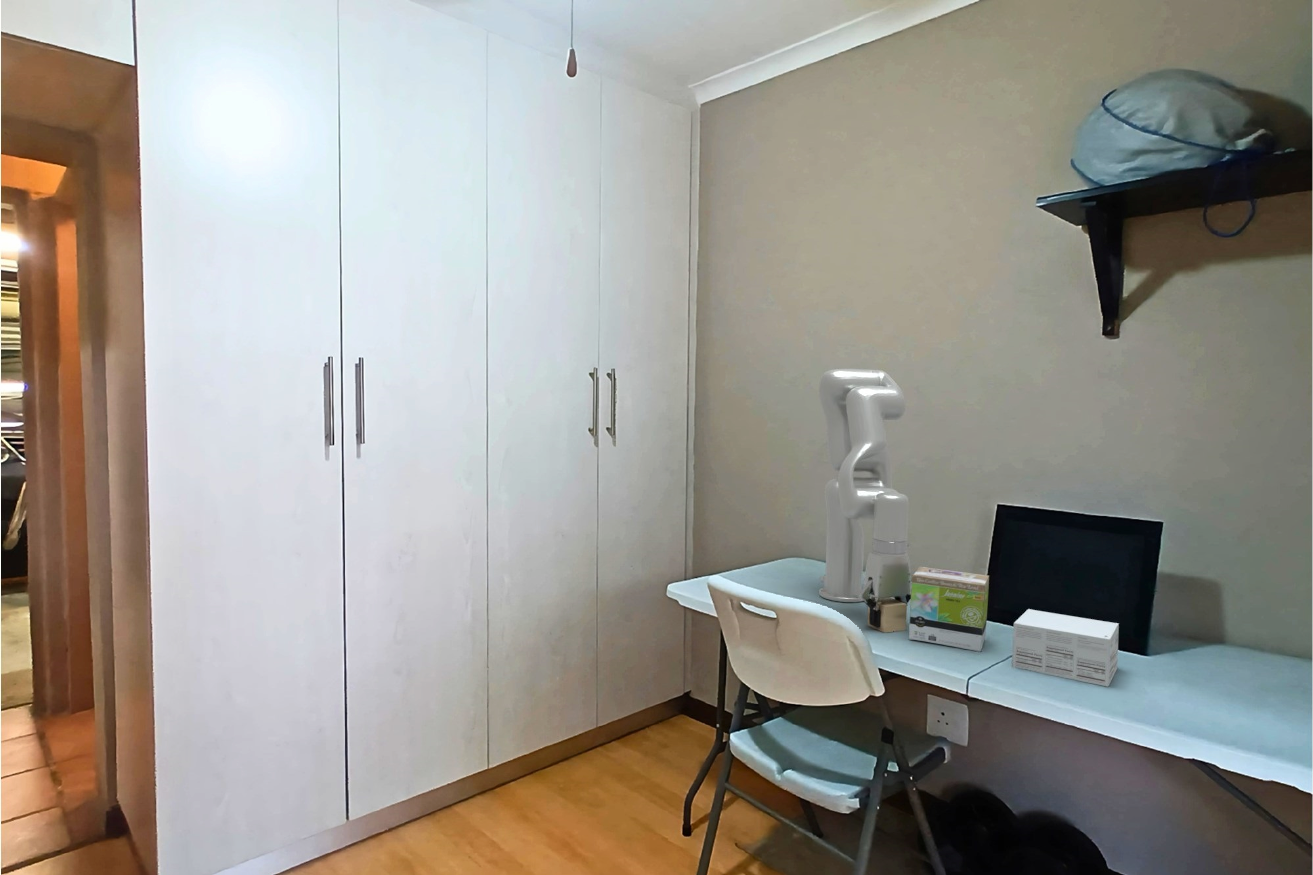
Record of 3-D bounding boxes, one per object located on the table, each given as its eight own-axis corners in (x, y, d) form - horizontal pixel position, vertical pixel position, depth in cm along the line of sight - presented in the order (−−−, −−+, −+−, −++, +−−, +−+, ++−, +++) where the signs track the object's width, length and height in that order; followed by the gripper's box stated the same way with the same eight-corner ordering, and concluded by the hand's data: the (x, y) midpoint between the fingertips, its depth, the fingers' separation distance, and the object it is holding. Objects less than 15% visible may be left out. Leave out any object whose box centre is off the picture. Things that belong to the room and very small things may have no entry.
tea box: (907, 640, 168) (910, 574, 167) (915, 628, 176) (918, 565, 176) (982, 653, 161) (985, 583, 160) (986, 639, 169) (989, 573, 169)
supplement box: (1117, 668, 153) (1120, 622, 152) (1108, 688, 142) (1111, 638, 142) (1025, 650, 163) (1027, 607, 163) (1010, 667, 153) (1013, 621, 152)
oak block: (867, 624, 178) (868, 599, 178) (888, 622, 181) (889, 597, 180) (884, 632, 173) (885, 606, 172) (905, 629, 175) (906, 604, 175)
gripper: (908, 541, 182) (905, 616, 183) (848, 546, 176) (845, 623, 177) (931, 547, 175) (927, 625, 176) (869, 552, 169) (866, 633, 170)
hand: (886, 623), depth 177 cm, fingers closed on oak block, 6 cm apart
